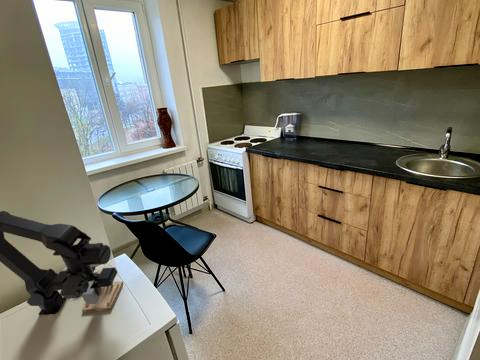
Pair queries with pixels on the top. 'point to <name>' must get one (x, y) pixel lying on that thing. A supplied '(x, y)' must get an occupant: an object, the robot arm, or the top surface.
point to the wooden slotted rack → (105, 298)
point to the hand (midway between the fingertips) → (93, 295)
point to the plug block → (91, 295)
